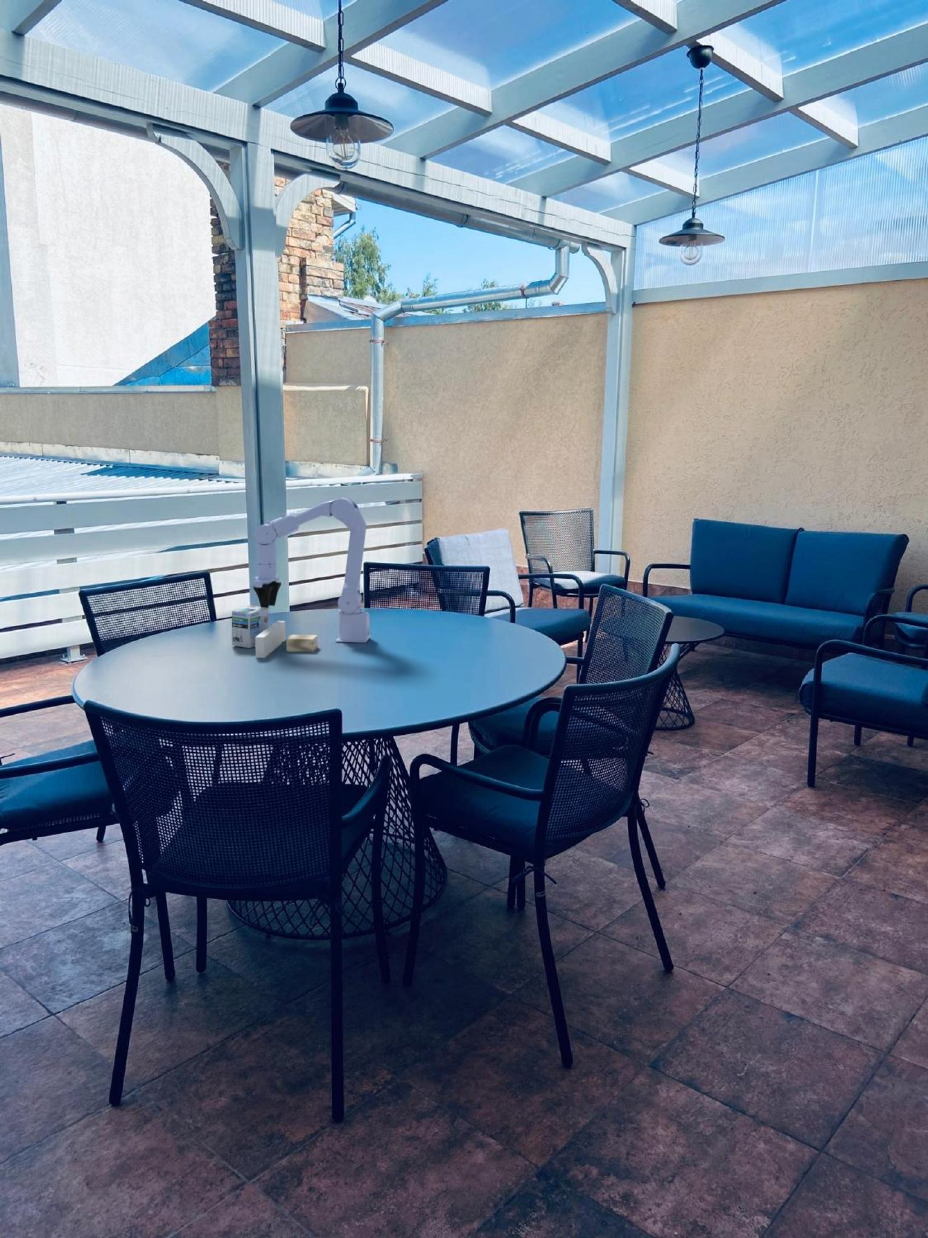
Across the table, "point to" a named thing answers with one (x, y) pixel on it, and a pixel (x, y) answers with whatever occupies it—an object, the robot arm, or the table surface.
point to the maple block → (302, 643)
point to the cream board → (270, 639)
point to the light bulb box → (248, 625)
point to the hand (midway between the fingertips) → (268, 606)
